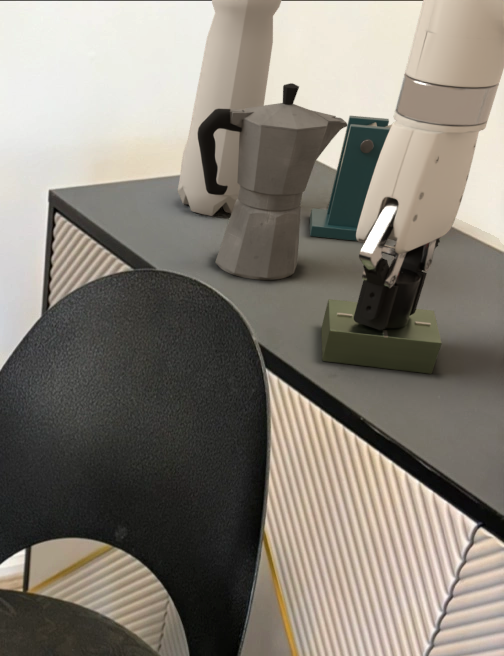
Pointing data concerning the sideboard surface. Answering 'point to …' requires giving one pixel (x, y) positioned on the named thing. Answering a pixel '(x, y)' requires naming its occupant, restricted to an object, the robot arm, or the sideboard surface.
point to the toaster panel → (379, 340)
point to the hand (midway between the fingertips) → (384, 316)
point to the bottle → (227, 94)
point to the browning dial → (403, 298)
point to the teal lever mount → (351, 179)
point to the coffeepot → (266, 181)
